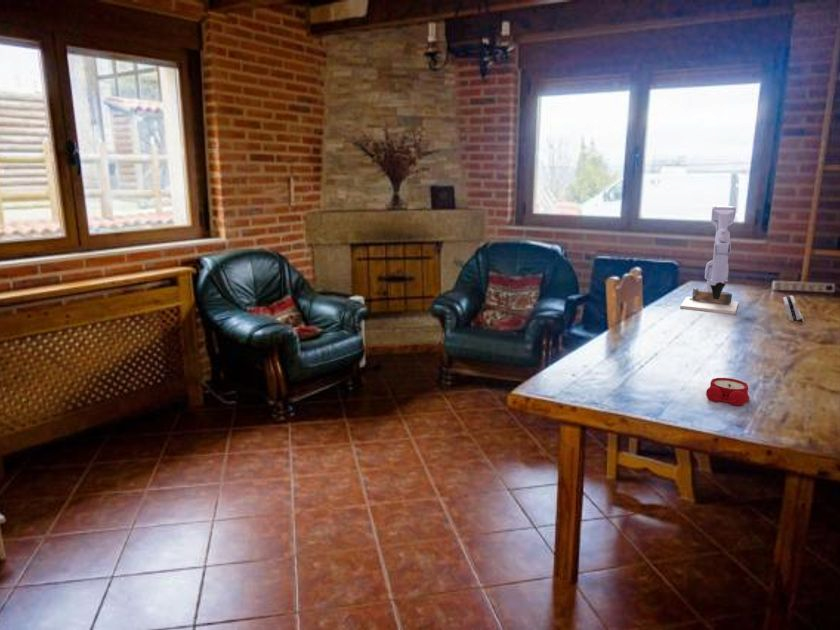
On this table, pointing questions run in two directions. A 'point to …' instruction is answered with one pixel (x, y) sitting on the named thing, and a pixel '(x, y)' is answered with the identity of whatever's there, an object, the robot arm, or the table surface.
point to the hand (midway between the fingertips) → (715, 299)
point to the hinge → (792, 308)
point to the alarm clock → (728, 391)
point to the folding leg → (711, 296)
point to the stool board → (709, 305)
